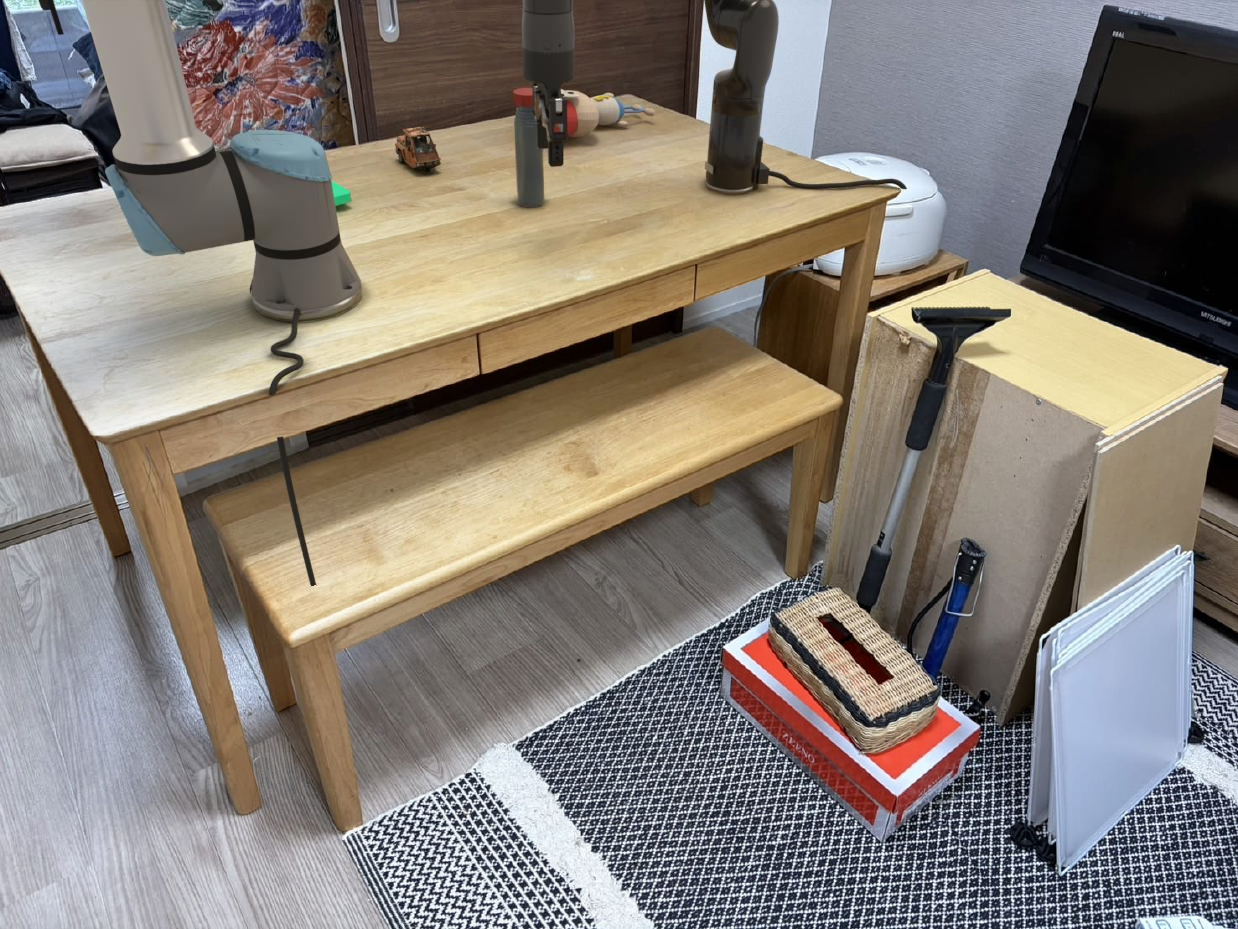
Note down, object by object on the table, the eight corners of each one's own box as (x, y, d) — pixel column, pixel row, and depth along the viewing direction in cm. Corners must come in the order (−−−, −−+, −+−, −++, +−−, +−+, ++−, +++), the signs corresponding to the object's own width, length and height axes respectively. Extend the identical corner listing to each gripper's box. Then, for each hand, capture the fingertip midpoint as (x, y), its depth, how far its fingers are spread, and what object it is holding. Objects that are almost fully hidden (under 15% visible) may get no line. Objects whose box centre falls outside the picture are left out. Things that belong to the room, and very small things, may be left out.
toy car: (418, 153, 186) (414, 118, 181) (449, 170, 178) (446, 134, 174) (389, 159, 182) (385, 123, 178) (419, 177, 175) (416, 140, 171)
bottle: (548, 205, 166) (545, 96, 155) (522, 208, 164) (518, 99, 153) (538, 195, 169) (535, 88, 158) (513, 199, 168) (508, 91, 156)
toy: (674, 93, 197) (551, 94, 182) (670, 142, 202) (549, 147, 187) (627, 81, 210) (509, 80, 195) (624, 127, 215) (508, 131, 200)
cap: (545, 105, 156) (545, 93, 154) (518, 108, 154) (518, 96, 153) (536, 97, 159) (535, 86, 158) (509, 100, 157) (509, 89, 156)
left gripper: (151, -134, 141) (187, 17, 154) (-38, -132, 131) (17, 30, 144) (159, -130, 136) (195, 26, 149) (-37, -127, 126) (20, 41, 138)
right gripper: (585, 54, 128) (584, 170, 138) (563, 32, 139) (563, 140, 149) (532, 56, 127) (535, 174, 136) (513, 33, 137) (517, 143, 147)
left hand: (108, 29), depth 146 cm, fingers open, 13 cm apart
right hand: (550, 156), depth 143 cm, fingers open, 8 cm apart
